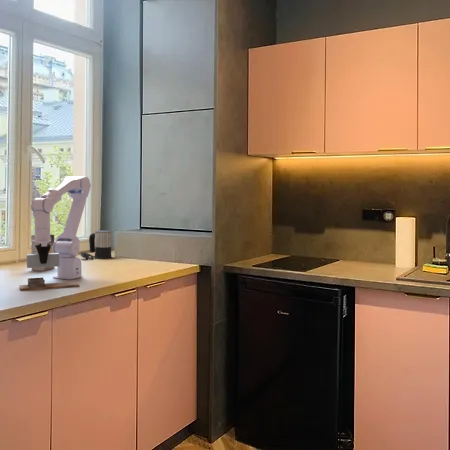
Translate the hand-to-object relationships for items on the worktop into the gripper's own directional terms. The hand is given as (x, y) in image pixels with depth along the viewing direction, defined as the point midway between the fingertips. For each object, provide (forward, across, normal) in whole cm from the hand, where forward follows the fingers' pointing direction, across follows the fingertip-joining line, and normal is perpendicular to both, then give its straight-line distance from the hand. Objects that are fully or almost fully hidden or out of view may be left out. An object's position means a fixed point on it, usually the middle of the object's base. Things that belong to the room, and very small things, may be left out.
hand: (43, 263), depth 206 cm
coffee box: (+8, -39, +3) cm, 40 cm away
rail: (+1, 0, 0) cm, 1 cm away
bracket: (+8, +9, +2) cm, 12 cm away
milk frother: (+8, -69, +32) cm, 76 cm away
